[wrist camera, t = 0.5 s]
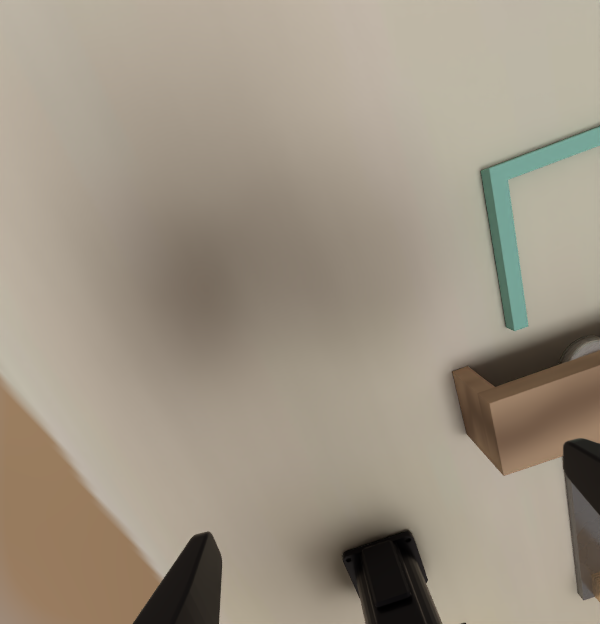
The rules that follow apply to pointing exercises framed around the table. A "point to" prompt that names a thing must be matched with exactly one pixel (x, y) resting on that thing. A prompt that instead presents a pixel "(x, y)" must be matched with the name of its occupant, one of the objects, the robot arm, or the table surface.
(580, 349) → the steel puck
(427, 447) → the table surface
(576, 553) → the try square
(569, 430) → the walnut plinth
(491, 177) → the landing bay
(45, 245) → the table surface
